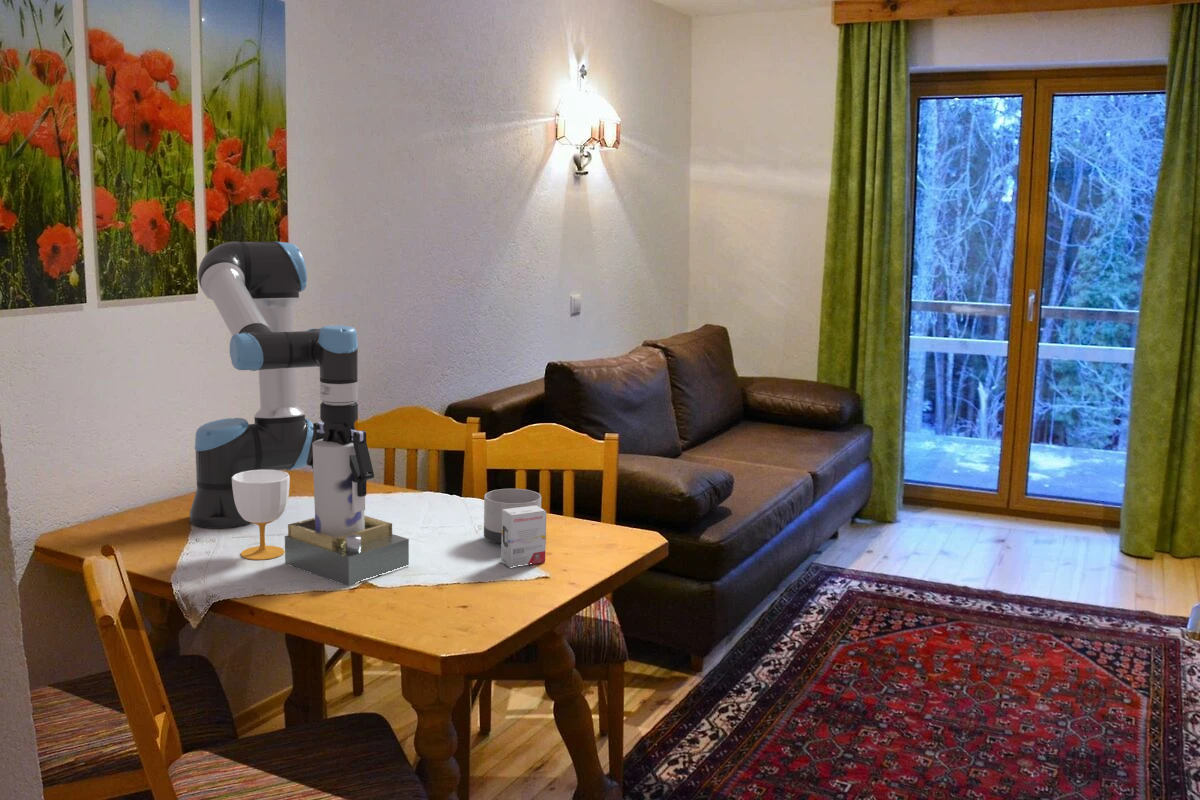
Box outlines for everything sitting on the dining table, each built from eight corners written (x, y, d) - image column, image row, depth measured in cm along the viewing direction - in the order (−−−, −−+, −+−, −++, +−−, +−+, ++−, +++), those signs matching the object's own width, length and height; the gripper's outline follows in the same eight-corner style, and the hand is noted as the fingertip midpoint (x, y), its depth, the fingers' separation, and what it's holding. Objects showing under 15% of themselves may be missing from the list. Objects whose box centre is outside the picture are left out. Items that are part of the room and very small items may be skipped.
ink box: (536, 556, 239) (537, 504, 237) (546, 563, 234) (547, 510, 232) (499, 561, 234) (500, 508, 232) (509, 569, 230) (510, 514, 228)
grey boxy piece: (285, 563, 229) (284, 522, 227) (345, 546, 241) (345, 506, 240) (348, 586, 217) (348, 542, 215) (408, 566, 230) (408, 525, 228)
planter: (551, 538, 252) (552, 494, 250) (519, 553, 241) (520, 507, 239) (505, 528, 258) (506, 485, 256) (472, 542, 247) (472, 497, 245)
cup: (264, 541, 243) (262, 466, 240) (302, 551, 237) (301, 474, 234) (221, 555, 233) (219, 477, 230) (260, 566, 227) (258, 486, 224)
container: (352, 543, 223) (350, 447, 220) (307, 540, 225) (303, 445, 222) (372, 529, 233) (370, 437, 230) (328, 526, 235) (325, 435, 232)
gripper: (287, 396, 228) (289, 498, 232) (363, 412, 214) (363, 520, 218) (316, 392, 234) (318, 491, 238) (392, 407, 220) (392, 512, 224)
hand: (340, 505), depth 228 cm, fingers open, 11 cm apart
